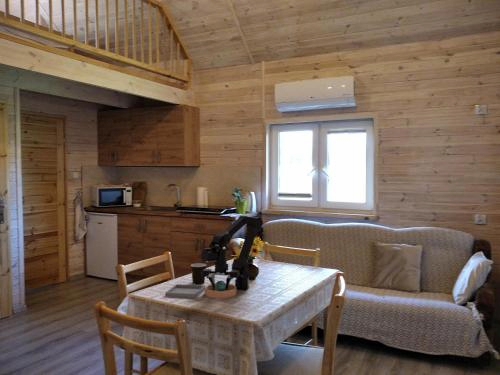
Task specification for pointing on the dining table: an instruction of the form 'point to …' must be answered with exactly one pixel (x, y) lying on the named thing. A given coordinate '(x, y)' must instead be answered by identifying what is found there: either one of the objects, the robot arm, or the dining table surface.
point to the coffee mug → (198, 273)
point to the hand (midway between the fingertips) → (220, 290)
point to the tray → (185, 291)
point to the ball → (220, 286)
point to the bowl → (220, 292)
